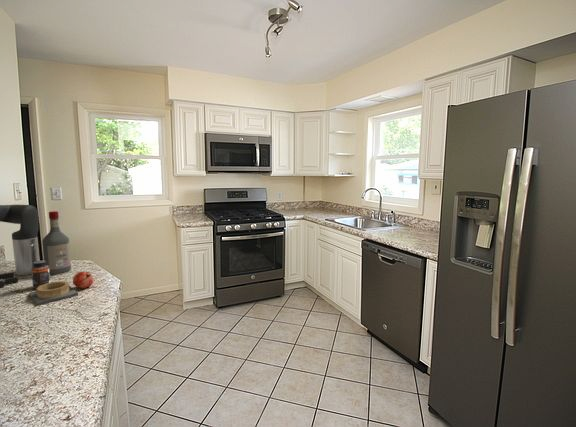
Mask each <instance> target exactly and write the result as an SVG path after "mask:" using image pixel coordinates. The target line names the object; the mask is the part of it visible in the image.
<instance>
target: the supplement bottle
mask: <svg viewBox="0 0 576 427" xmlns="http://www.w3.org/2000/svg"><path fill="white" fill-rule="evenodd" d="M31 271H32V274H31V278H32V280H31V281H32V288H33V289H35V290H37V288H38V287H39V286H41V285H43V284H46V283H51V282H52V281H51V275H50V271H49V266H48V265H46V261H44V260H40V261H36V262H34V267H33V268H32V269H31Z"/></svg>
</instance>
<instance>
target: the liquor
mask: <svg viewBox="0 0 576 427" xmlns="http://www.w3.org/2000/svg"><path fill="white" fill-rule="evenodd" d="M59 215H60V214H59V211H55V210H53V211H48V219H49V224H50V229H49V232H48V233H47V234H46V235H45V236H44V237H43V238H42V252H43V253H42V254H43V261H46V265H48V266H49V271H50V276H57V274H58V275H61V273H62V274H65V272H66V273H69V272H70V271H71V270H72V258H71V245H70V238H69V237H68V236H67V235H66V234H64V232H62V231H61V229H60V222H59Z"/></svg>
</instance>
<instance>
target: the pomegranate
mask: <svg viewBox="0 0 576 427" xmlns="http://www.w3.org/2000/svg"><path fill="white" fill-rule="evenodd" d="M94 282H95V280H94V277H93V275H92V273H91V272H87V271H80V272H77V273H76V274H75V275H74V276H73V278H72V284H73V285H74V286H75V287H76V288H77V289H78V290H79V289H81V290H84V289H86V288H89V287H91V286H92V285H93V284H94Z"/></svg>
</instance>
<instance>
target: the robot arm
mask: <svg viewBox="0 0 576 427" xmlns="http://www.w3.org/2000/svg"><path fill="white" fill-rule="evenodd" d="M1 222H2V223H7V224H15V225H19V230H16V231H13V232H12V233H11V240H12V249H13V250H12V251H13V258H14V268H15V269H14V270H15V274H14V272H13V271H10V272H6V273H0V289H4V287H6V286H9V285H13V284H18V283H19V279H18V277H17V276H16V277H15V275H18V276H25V275H26V276H27V275H32V271H31V269H32V268H33V267H34V262H36V261H41V259H40V249H39V241H38V240H39V239H38V232H39V226H40V225H39V213H38V210H37V208H36V207H35V206H34V205H31V204H0V223H1Z"/></svg>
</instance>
